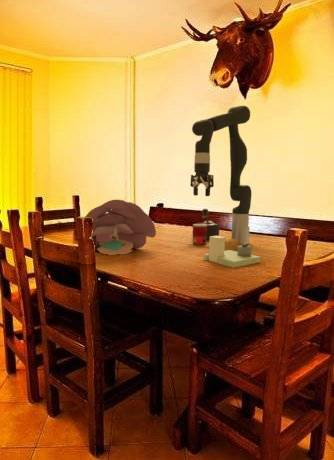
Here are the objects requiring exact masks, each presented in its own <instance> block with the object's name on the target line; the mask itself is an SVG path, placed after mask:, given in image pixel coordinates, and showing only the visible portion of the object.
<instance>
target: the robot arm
mask: <svg viewBox="0 0 334 460" xmlns="http://www.w3.org/2000/svg"><path fill="white" fill-rule="evenodd" d="M250 119H251V110H250V108H249V107H248V106H246V105H237V106H233V107H232V106H231V107H230V108H228V111H227V113H221V114H218V115H214V116H212V117H209V118H207V119H206V118H205V119H201V120H197V121H195V122H194V123H193V125H192V127H191V131H192V133H193V134H194V135H195V136H196V137H201V138H200V140H197V141H196V142H195V146H194V149H195V150H194V152H195V153H194V164H193V165H194V167H193V168H194V170H193V171H194V173H195V174H191V175H190V187H191V188H192V189H193V192H192V193H193V196H198V195H199V186H200V185H202V184H203V186H204V187H205V188H204V189H205V194H204V195H205V197H210V196H211V188H214V187H215V186H214V185H215V184H214V183H215V182H214V174H209V173H210V170H211V155H210V150H211V149H210V148H211V147H210V145H211V143H212V139H213V136H214V132H217V131H220V130H222V129H225V128H227V129H228V136H229V137H228V138H229V158H230V159H229V160H230V161H229V162H230V180H229V181H230V182H229V184H230V185H229V195H230V199H231V200H232V201H233V202H239V204H238V205H237V206H235V207H233V208H232V214H231V215H232V216H231V217H232V218H231V238H232V239H235V240H236V241H238V242H240V243H245V244H247V245H249V244H250V226H249V223H250V222H249V219H250V217H249V216H250V210H251V204H252V188H251V186H250V185H248V184H241V177H242V174H243V173H242V172H243V170H244V169H245V168H246V165H247V163H248V148H247V146H246V143H245V142H244V140H243V139H242V137H241V135H240V132H239V125H242V124H247V122H249V120H250Z"/></svg>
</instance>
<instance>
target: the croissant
mask: <svg viewBox="0 0 334 460" xmlns="http://www.w3.org/2000/svg"><path fill="white" fill-rule="evenodd" d="M242 244H243V243H240V242H238V241H236V240H235V239H232V237H231V238H230V237H229V238H227V240H226V241H225V247H224V251H227V250H232V251H236V252H238V246H240V245H242ZM247 246H249V244H247Z"/></svg>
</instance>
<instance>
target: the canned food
mask: <svg viewBox="0 0 334 460" xmlns="http://www.w3.org/2000/svg"><path fill="white" fill-rule="evenodd" d="M207 242H208V241H207V225H206V224H200V223H193V224H192V244H193V245H195V246H205V245H206V244H207Z"/></svg>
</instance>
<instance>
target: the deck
mask: <svg viewBox="0 0 334 460" xmlns="http://www.w3.org/2000/svg"><path fill="white" fill-rule="evenodd" d="M247 245H248V244H245V243H243V244H242V245H240V246H238V252H236V251H232V250H227V251H224V256H223V257H218V258H217V263H216V264H219V265H222V266H226V267H229V268H232V269H234V268H238V267H243V266H248V265H253V264H258V263H261V262H260V261H261V256H259V255H258V256H257V255H253V254H252V246H250V245H248V246H247ZM203 260H204V261H209V253H204V254H203Z"/></svg>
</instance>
